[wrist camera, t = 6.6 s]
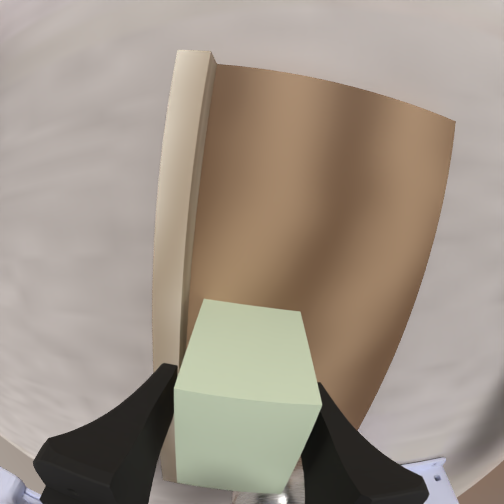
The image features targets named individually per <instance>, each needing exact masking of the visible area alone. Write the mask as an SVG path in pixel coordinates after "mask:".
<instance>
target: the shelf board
mask: <svg viewBox="0 0 504 504" xmlns="http://www.w3.org/2000/svg"><path fill="white" fill-rule="evenodd" d="M455 123H456V121H453V120H451V119H448V118H446V117H443V116H441V115H438V114H436V113H433V112H431V111H428V110H425V109H423V108H420V107H417V106H414V105H411V104H408V103H406V102H403V101H400V100H396V99H393V98H390V97H387V96H384V95H380V94H377V93H374V92H370V91H367V90H363V89H359V88H355V87H352V86H348V85H344V84H339V83H335V82H331V81H326V80H322V79H317V78H312V77H307V76H302V75H297V74H291V73H285V72H279V71H273V70H266V69H258V68H250V67H242V66H232V65H221V64H217V63H216V61H215V59H214V57H213V55H212V53H211V51H196V50H178V51H177V56H176V61H175V66H174V72H173V77H172V83H171V89H170V95H169V101H168V108H167V115H166V122H165V129H164V137H163V145H162V153H161V162H160V171H159V182H158V193H157V205H156V219H155V235H154V256H153V290H152V336H153V370H154V372H155V371H156V370H157V369H158V368H159V366H160V365H161V364H163V363H168V364H173V365H178V369H177V377H178V374H179V371H180V368H181V365H182V362H183V359H184V356H185V353H186V350H187V347H188V344H189V341H190V338H191V335H192V332H193V329H194V326H195V323H196V320H197V317H198V314H199V311H200V308H201V305H202V303H203V300H204V299H209V300H216V301H223V302H230V303H237V304H244V305H251V306H259V307H267V308H275V309H283V310H291V311H300V312H301V316H302V320H303V324H304V328H305V333H306V337H307V341H308V345H309V349H310V353H311V358H312V362H313V366H314V371H315V375H316V379H317V382H321V384H322V385H323V386H324V388H325V389H326V391H327V392H328V394H329V395H330V397H331V398H332V400H333V401H334V402H335V404H336V405H337V407H338V408H339V409H340V411H341V412H342V413H343V415H344V416H345V417H346V418H347V420H348V421H349V422H350V423H351V424H352V426H353V427H354V428H355V429H356V430H358V428H359V427H360V425H361V423H362V421H363V419H364V417H365V416H366V414H367V412H368V410H369V408H370V406H371V404H372V402H373V400H374V398H375V396H376V394H377V392H378V390H379V388H380V386H381V383H382V381H383V379H384V377H385V375H386V373H387V370H388V368H389V366H390V364H391V361H392V359H393V357H394V355H395V352H396V350H397V347H398V345H399V343H400V340H401V338H402V335H403V333H404V330H405V327H406V325H407V322H408V319H409V317H410V314H411V311H412V309H413V306H414V303H415V300H416V297H417V294H418V291H419V288H420V285H421V282H422V279H423V276H424V272H425V269H426V266H427V263H428V259H429V256H430V252H431V248H432V245H433V241H434V237H435V233H436V229H437V225H438V221H439V217H440V213H441V208H442V204H443V199H444V194H445V189H446V184H447V178H448V173H449V167H450V161H451V154H452V147H453V140H454V132H455ZM160 459H161V467H162V475H163V480H165V481H170V482H175V483H177V472H176V453H175V425H174V415H173V419H172V421H171V424H170V427H169V430H168V432H167V435H166V438H165V441H164V443H163V446H162V449H161V452H160Z"/></svg>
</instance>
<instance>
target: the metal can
mask: <svg viewBox="0 0 504 504" xmlns="http://www.w3.org/2000/svg"><path fill="white" fill-rule="evenodd" d="M232 504H305V486H304V473H303V467H302V461H301V455H300V457H299V460H298V462H297V464H296V466H295V468H294V470H293V472H292V474H291V476H290V478H289V480H288V482H287V484H286V486H285V488H284V490H283V492H282V494H270V493H252V492H240V491H233V495H232Z"/></svg>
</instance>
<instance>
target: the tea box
mask: <svg viewBox="0 0 504 504" xmlns="http://www.w3.org/2000/svg"><path fill="white" fill-rule="evenodd" d="M321 407H322V401H321V397H320V393H319V388H318V384H317V379H316V375H315V371H314V366H313V362H312V358H311V353H310V349H309V345H308V341H307V337H306V333H305V328H304V324H303V320H302V316H301V312H300V311H291V310H283V309H275V308H267V307H259V306H251V305H244V304H237V303H230V302H223V301H216V300H209V299H204V300H203V303H202V305H201V308H200V311H199V314H198V317H197V320H196V323H195V326H194V329H193V332H192V335H191V338H190V341H189V344H188V347H187V350H186V353H185V356H184V359H183V362H182V365H181V368H180V371H179V374H178V377H177V380H176V383H175V387H174V425H175V453H176V472H177V483H181V484H187V485H193V486H199V487H206V488H213V489H221V490H229V491H240V492H252V493H270V494H282V492H283V490H284V488H285V486H286V484H287V482H288V480H289V478H290V476H291V474H292V472H293V470H294V468H295V466H296V464H297V462H298V460H299V457H300V455H301V453H302V451H303V449H304V447H305V444H306V442H307V440H308V438H309V435H310V433H311V431H312V429H313V426H314V424H315V421H316V419H317V417H318V414H319V412H320V409H321Z"/></svg>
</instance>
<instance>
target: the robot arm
mask: <svg viewBox="0 0 504 504" xmlns="http://www.w3.org/2000/svg"><path fill="white" fill-rule="evenodd" d="M177 369H178V365H173V364H168V363H163V364H161V365H160V366H159V368H158V369H157V370H156V371H155V372H154V373H153V374H152V375H151V376H150V378H149V379H148V380H147V381H146V382H145V383H144V384H143V385H142V386H141V387H139V388H138V389H137V390H136V391H135V392H134V393H133V394H132V395H131V396H129V397H128V398H127V399H126V400H125V401H123V402H122V403H121V404H120V405H118V406H117V407H116V408H114V409H113V410H111V411H110V412H108V413H107V414H105V415H103V416H102V417H100V418H98V419H96V420H95V421H93V422H91V423H89V424H87V425H85V426H82V427H80V428H78V429H75V430H73V431H70V432H68V433H65V434H61V435H58V436H55V437H51V438H48V439H47V441H46V442H45V443H44V444H43V446H42V447H41V449H40V451H39V452H38V454H37V456H36V458H35V459H34V461H33V466H34V468H35V470H36V472H37V473H38V475H39V476H40V478H41V479H42V481H43V482H44V483H45V485H46V487H45V489H44V491H43V493H42V495H41V494H39V493H36V492H35V491H33V490H31V489H29V488H27V487H26V486H25V484H24V483H23V481H22V480H21V479H20V478H19V477H17V476H16V475H14V474H13V473H11V472H9V471H8V470H6V469H4V468H2V467H1V466H0V504H148V502H149V496H150V491H151V486H152V482H153V477H154V473H155V468H156V464H157V461H158V457H159V454H160V452H161V449H162V446H163V443H164V441H165V438H166V435H167V432H168V430H169V427H170V424H171V421H172V419H173V415H174V387H175V383H176V380H177ZM317 384H318V388H319V393H320V397H321V401H322V407H321V409H320V412H319V414H318V417H317V419H316V421H315V424H314V426H313V429H312V431H311V433H310V435H309V438H308V440H307V442H306V444H305V447H304V449H303V451H302V453H301V461H302V467H303V473H304V486H305V504H459V503H458V500H457V498H456V496H455V493H454V491H453V489H452V486H451V484H450V482H449V480H448V477H447V475H446V473H445V471H444V469H443V466H442V465H443V464H444V463H445V462H446V459H445V457H442V458H437V459H432V460H427V461H422V462H417V463H411V464H404V465H399V464H398V463H396V462H394V461H393V460H391V459H390V458H388V457H387V456H385V455H384V454H383V453H381V452H380V451H379V450H378V449H376V448H375V447H374V446H373V445H371V444H370V443H369V442H368V441H367V440H366V439H365V438H364V437H363V436H362V435H361V434H360V433H359V432H358V431H357V430H356V429H355V428H354V427H353V426H352V424H351V423H350V422H349V421H348V420H347V418H346V417H345V416H344V415H343V413H342V412H341V411H340V409H339V408H338V407H337V405H336V404H335V402H334V401H333V400H332V398H331V397H330V395H329V394H328V392H327V391H326V389H325V388H324V386H323V385H322V384H321V382H317Z"/></svg>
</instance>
